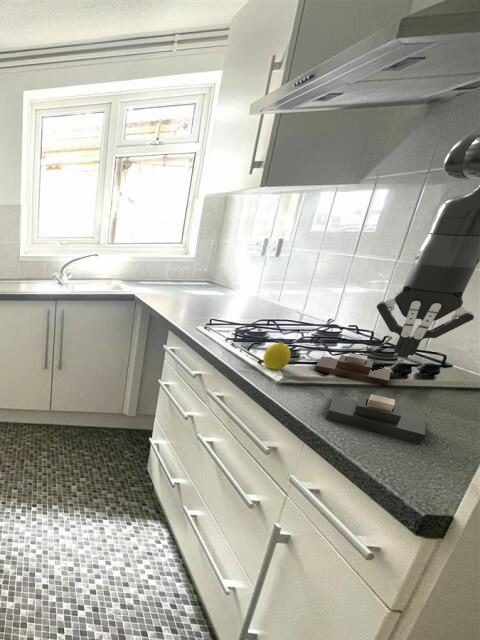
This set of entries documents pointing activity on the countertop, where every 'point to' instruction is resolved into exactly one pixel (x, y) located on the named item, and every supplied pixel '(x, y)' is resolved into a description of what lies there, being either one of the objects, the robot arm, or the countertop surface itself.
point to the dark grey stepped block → (377, 419)
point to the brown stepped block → (353, 370)
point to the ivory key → (381, 402)
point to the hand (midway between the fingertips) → (401, 356)
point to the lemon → (277, 356)
